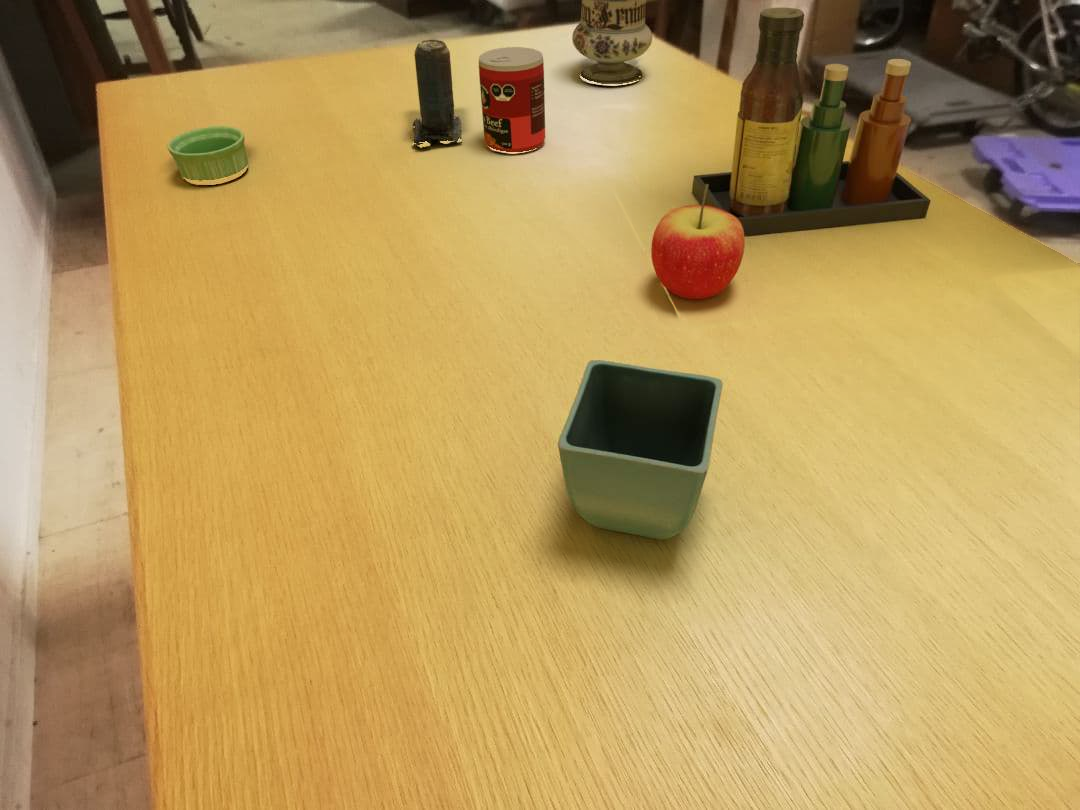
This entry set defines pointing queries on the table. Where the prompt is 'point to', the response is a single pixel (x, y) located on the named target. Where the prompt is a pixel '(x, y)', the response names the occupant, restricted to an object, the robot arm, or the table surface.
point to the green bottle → (821, 146)
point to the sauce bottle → (768, 118)
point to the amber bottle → (879, 141)
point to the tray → (900, 207)
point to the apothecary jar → (612, 39)
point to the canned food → (512, 98)
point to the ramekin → (209, 152)
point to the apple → (697, 250)
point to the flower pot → (639, 447)
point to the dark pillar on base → (435, 94)
